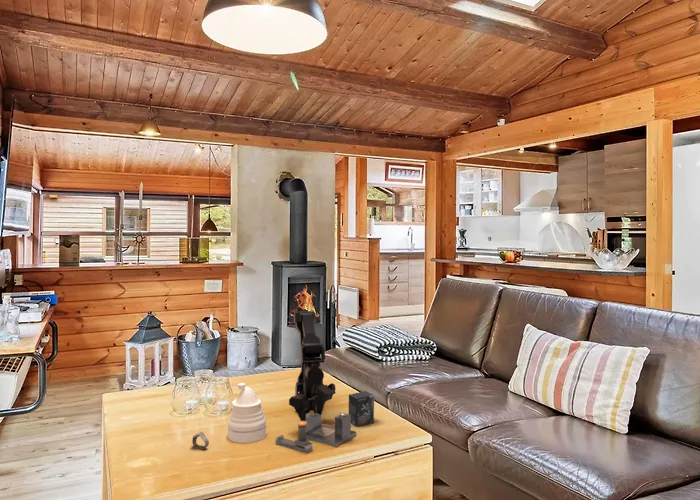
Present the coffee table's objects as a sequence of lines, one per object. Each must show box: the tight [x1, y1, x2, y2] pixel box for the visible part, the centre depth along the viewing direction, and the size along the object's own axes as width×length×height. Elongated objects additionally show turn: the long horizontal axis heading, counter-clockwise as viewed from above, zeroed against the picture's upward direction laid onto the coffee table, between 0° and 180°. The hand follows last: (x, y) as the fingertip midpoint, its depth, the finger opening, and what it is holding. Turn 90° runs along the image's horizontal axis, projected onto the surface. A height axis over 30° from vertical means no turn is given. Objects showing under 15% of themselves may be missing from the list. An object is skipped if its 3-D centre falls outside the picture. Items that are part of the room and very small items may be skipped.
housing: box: [306, 411, 323, 431], centre depth 183 cm, size 5×5×6 cm
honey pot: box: [227, 382, 267, 444], centre depth 176 cm, size 13×13×18 cm
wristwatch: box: [191, 431, 210, 450], centre depth 166 cm, size 4×6×5 cm, turn 60°
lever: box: [294, 420, 310, 447], centre depth 165 cm, size 4×3×7 cm
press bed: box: [306, 411, 357, 448], centre depth 175 cm, size 14×12×9 cm
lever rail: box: [275, 434, 313, 454], centre depth 167 cm, size 13×3×2 cm, turn 56°
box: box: [348, 390, 375, 428], centre depth 188 cm, size 8×6×11 cm
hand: (311, 419), depth 184 cm, fingers open, 9 cm apart
